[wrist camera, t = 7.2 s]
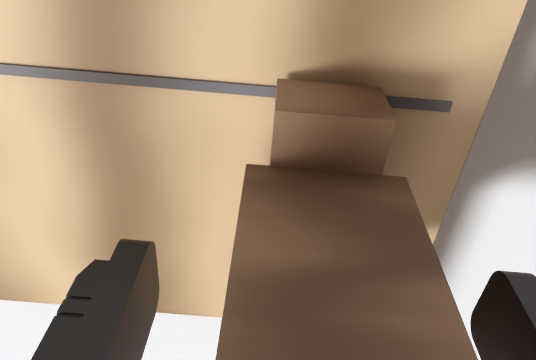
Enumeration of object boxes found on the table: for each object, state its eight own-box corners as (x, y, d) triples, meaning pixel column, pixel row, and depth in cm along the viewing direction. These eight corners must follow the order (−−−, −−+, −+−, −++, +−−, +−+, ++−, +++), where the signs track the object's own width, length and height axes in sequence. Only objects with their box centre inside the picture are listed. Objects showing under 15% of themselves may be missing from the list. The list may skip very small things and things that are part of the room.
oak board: (503, -63, 12) (549, -50, 10) (388, 285, 20) (399, 334, 18) (-225, -126, 12) (-338, -128, 10) (-51, 249, 20) (-92, 294, 18)
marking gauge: (387, 59, 14) (569, 390, 5) (327, 319, 21) (354, 645, 12) (260, 48, 14) (204, 361, 5) (243, 312, 21) (208, 633, 12)
